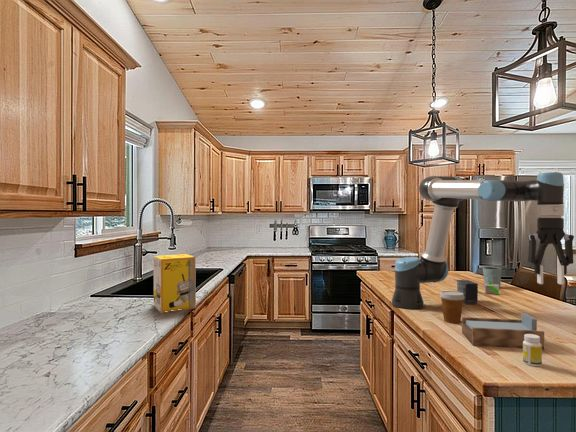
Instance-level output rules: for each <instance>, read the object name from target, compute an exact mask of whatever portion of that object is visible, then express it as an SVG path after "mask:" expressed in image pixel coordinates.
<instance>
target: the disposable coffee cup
mask: <svg viewBox="0 0 576 432" xmlns="http://www.w3.org/2000/svg"><path fill="white" fill-rule="evenodd" d="M439 296H440V299H441V306H442V308H441V309H442V313H443V321H444V322H446V323H448V324H453V325H455V324H460V323H462V313H463V307H464V306H463V305H464V303H463V299H464V298H465V297H464V294H463V293H461V292H457V290H455V291H454V290H442V291H441V292H440V294H439Z"/></svg>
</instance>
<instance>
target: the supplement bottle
mask: <svg viewBox="0 0 576 432" xmlns="http://www.w3.org/2000/svg"><path fill="white" fill-rule="evenodd" d="M542 351H543V350H542V345H541V343H540V337H539V336H538V335H534V334H525V335H524V341H523V349H522V362H523V364H525V365H527V366H531V367H541V366H542V365H543V364H542V363H543V352H542Z"/></svg>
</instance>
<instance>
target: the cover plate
mask: <svg viewBox="0 0 576 432" xmlns="http://www.w3.org/2000/svg"><path fill="white" fill-rule="evenodd" d="M521 320H522V323H512V322H490V321H469V320H466V324H467V325H468V326H469V327H470V328H471V329H472V327H475V328H495V329H515V330H535V331H538V330H537V329H538V328H537V327H538V326H537V325H538V323H537V318H535V317H533V316H532V315H530V314H528V313H527V312H521Z"/></svg>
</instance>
